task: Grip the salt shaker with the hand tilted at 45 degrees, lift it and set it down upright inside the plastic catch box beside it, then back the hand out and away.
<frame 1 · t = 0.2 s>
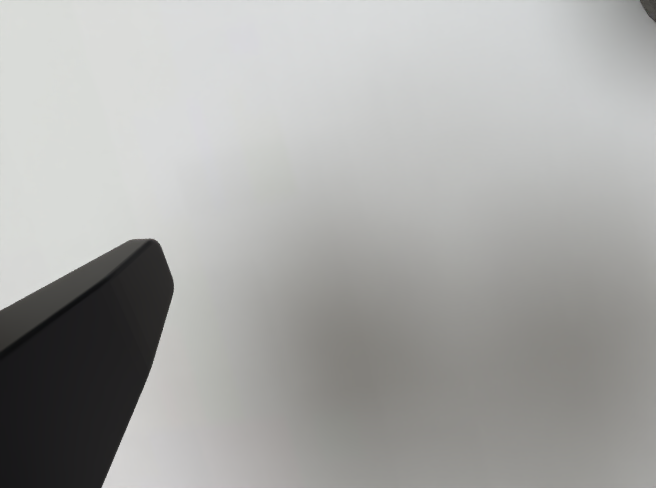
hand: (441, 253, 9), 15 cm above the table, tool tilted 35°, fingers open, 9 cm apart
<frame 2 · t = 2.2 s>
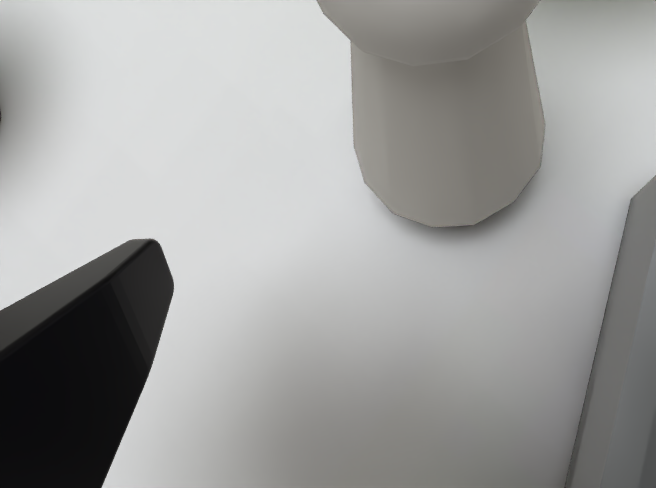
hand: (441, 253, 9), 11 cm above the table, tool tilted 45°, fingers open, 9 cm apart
salt shaker: (448, 162, 21), on the table
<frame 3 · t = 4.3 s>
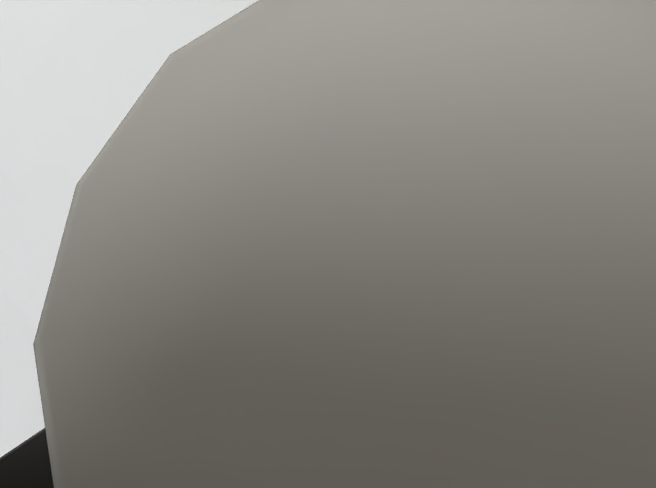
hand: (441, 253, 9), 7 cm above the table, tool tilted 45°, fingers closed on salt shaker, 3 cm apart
salt shaker: (452, 352, 15), on the table, touching gripper
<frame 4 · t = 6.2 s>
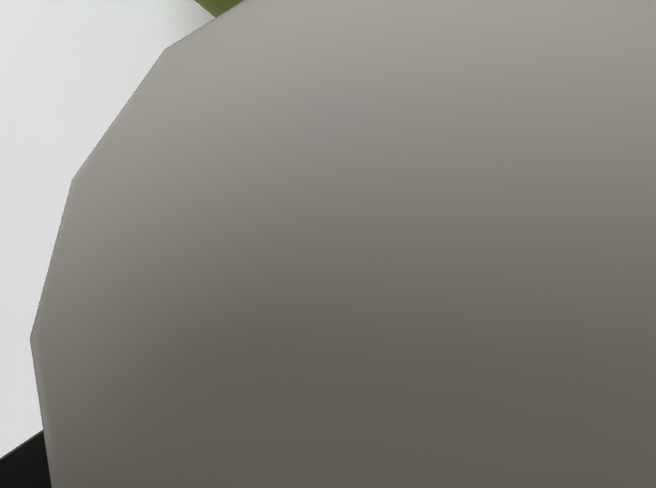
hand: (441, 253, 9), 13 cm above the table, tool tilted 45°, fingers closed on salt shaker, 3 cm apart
plant pot: (327, 0, 25), on the table
salt shaker: (452, 349, 15), point 6 cm above the table, touching gripper
when the fingers open (8 cm above the table, at t = 8.1 s): salt shaker stays where it is, resting on catch box.
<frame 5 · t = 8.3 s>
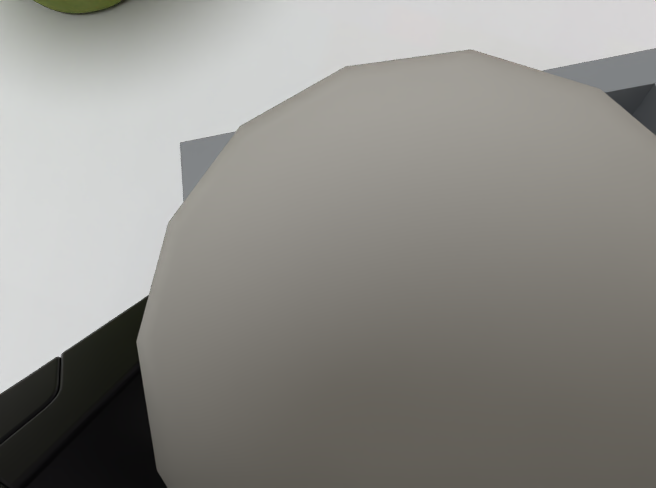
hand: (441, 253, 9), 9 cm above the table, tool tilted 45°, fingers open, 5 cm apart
catch box: (453, 352, 17), on the table
salt shaker: (455, 360, 16), point 1 cm above the table, touching catch box
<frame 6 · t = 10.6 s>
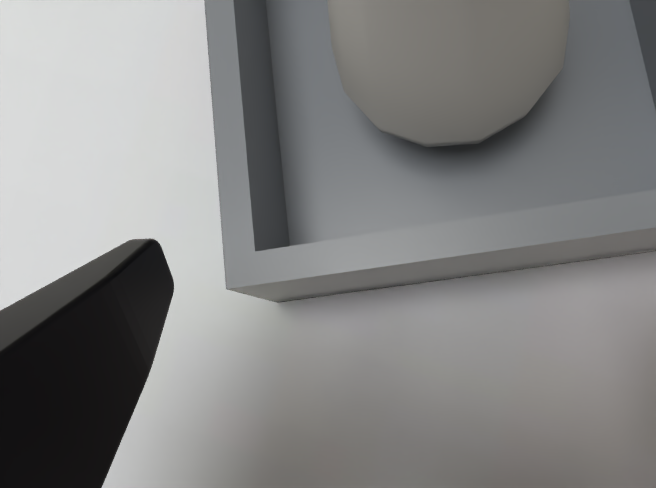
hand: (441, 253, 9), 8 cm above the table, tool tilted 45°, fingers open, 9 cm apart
catch box: (446, 81, 18), on the table
salt shaker: (448, 79, 17), point 1 cm above the table, touching catch box
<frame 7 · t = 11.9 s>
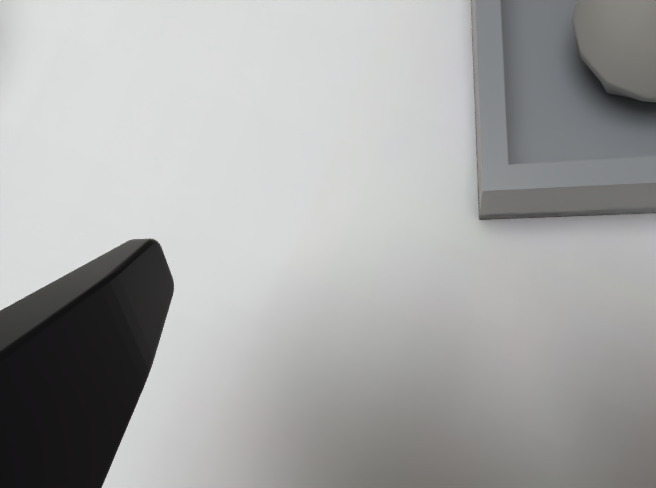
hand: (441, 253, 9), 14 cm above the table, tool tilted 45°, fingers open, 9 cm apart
catch box: (639, 56, 22), on the table
salt shaker: (646, 53, 21), point 1 cm above the table, touching catch box
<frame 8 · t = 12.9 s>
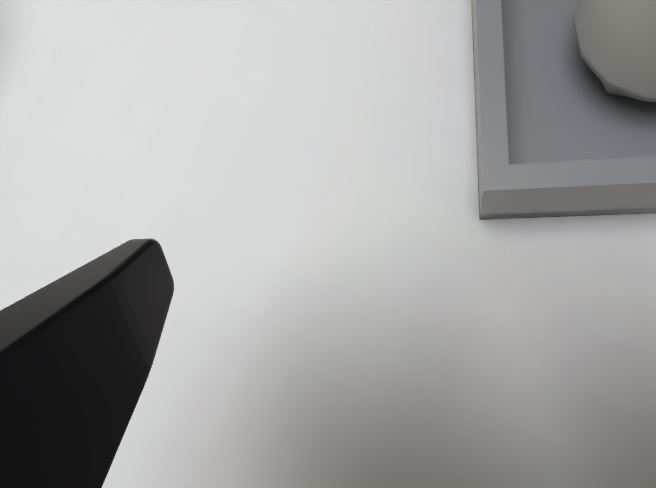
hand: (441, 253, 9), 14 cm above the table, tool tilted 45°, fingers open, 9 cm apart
catch box: (640, 56, 22), on the table
salt shaker: (646, 53, 21), point 1 cm above the table, touching catch box
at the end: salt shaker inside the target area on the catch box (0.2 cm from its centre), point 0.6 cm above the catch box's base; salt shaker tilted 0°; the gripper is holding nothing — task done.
